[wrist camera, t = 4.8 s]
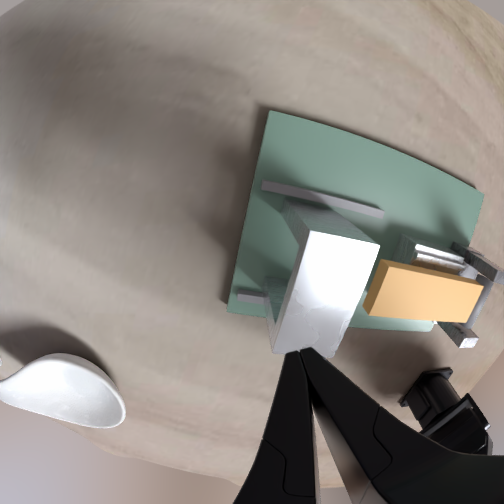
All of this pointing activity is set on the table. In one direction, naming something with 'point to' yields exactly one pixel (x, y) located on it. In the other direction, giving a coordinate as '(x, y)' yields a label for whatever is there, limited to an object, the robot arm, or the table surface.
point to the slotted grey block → (427, 255)
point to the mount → (473, 265)
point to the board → (343, 206)
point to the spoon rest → (65, 391)
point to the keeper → (317, 280)
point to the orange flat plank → (425, 294)
